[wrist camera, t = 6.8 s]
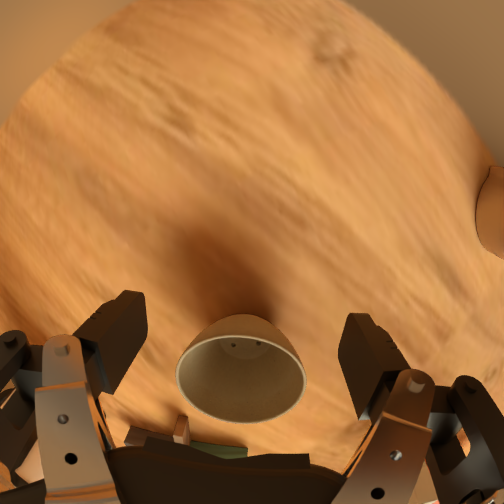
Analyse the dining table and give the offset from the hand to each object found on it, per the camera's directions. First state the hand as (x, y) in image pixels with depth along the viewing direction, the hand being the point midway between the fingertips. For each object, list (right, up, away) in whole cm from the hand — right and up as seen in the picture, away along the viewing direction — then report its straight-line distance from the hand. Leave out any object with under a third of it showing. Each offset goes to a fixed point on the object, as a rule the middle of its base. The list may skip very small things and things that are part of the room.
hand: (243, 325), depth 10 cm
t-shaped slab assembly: (-9, -22, +21) cm, 31 cm away
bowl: (0, -5, +16) cm, 16 cm away
